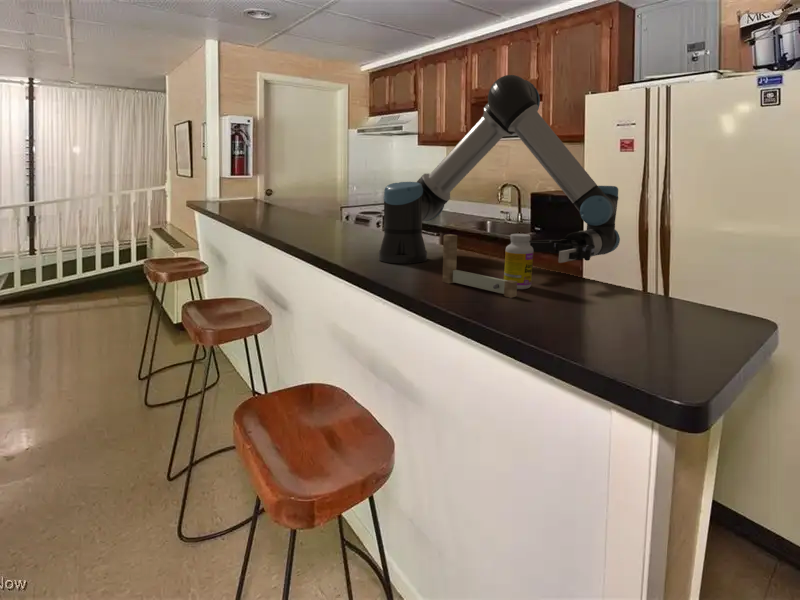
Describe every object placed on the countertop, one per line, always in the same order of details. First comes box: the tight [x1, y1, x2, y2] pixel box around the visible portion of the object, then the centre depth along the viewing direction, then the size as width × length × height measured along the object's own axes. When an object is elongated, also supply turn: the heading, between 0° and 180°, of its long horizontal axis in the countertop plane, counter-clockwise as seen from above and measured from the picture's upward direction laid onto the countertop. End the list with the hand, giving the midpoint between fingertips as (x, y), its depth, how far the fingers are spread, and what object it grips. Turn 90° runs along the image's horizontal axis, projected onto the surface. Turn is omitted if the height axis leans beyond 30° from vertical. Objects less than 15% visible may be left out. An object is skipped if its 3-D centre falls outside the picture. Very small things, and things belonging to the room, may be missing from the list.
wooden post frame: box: [442, 233, 518, 299], centre depth 128 cm, size 22×2×12 cm, turn 41°
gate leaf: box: [453, 269, 508, 295], centre depth 128 cm, size 16×2×3 cm, turn 41°
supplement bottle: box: [503, 233, 534, 290], centre depth 130 cm, size 7×7×13 cm
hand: (535, 253), depth 133 cm, fingers open, 13 cm apart
